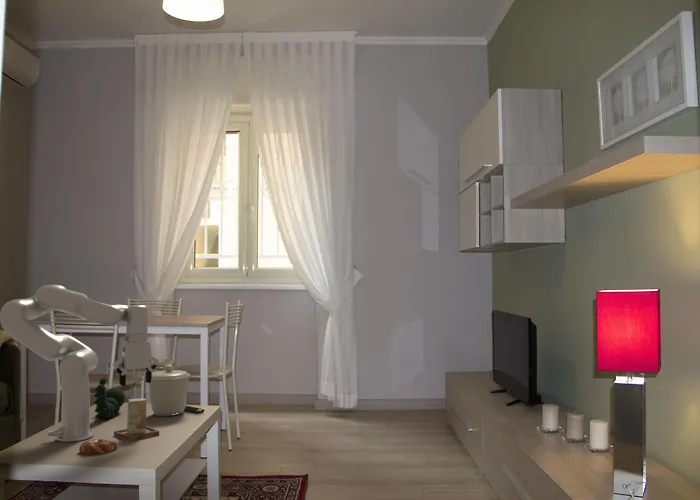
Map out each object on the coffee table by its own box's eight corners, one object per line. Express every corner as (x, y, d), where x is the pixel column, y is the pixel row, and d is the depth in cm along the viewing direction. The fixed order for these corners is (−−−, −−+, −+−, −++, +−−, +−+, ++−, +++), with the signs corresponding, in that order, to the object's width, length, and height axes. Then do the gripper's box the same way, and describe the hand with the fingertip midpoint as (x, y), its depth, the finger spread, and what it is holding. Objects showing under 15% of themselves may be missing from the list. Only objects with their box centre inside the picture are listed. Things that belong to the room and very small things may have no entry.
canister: (179, 419, 241) (179, 368, 242) (138, 418, 243) (138, 367, 244) (197, 409, 258) (197, 362, 259) (159, 408, 261) (159, 361, 262)
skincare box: (128, 435, 213) (128, 401, 214) (126, 432, 217) (126, 399, 218) (146, 432, 216) (146, 399, 217) (144, 430, 220) (144, 397, 221)
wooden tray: (127, 441, 208) (127, 437, 208) (113, 435, 216) (113, 431, 216) (159, 435, 216) (159, 430, 216) (144, 429, 225) (144, 425, 225)
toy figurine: (112, 426, 237) (130, 407, 262) (110, 380, 237) (129, 366, 262) (88, 427, 237) (108, 408, 262) (87, 381, 236) (107, 366, 261)
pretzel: (119, 445, 204) (119, 435, 205) (115, 454, 194) (115, 443, 194) (82, 448, 201) (82, 437, 201) (76, 457, 191) (76, 446, 191)
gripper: (117, 340, 209) (116, 388, 209) (163, 337, 221) (162, 382, 221) (109, 339, 215) (108, 385, 214) (154, 336, 227) (153, 380, 226)
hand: (135, 384), depth 217 cm, fingers open, 9 cm apart
